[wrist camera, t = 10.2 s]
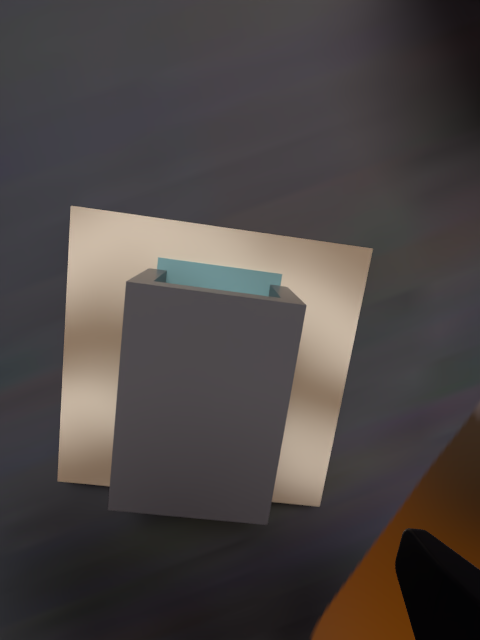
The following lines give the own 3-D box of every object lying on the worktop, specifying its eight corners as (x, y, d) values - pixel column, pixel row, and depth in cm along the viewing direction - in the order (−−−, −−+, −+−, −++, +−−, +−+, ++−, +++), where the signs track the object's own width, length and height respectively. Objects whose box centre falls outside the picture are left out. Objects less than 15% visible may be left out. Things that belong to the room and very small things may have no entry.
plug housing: (258, 462, 19) (267, 524, 15) (132, 449, 18) (107, 510, 14) (287, 286, 17) (306, 305, 13) (148, 268, 16) (126, 281, 13)
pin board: (312, 486, 21) (333, 547, 17) (69, 462, 20) (32, 520, 16) (360, 246, 18) (398, 252, 14) (83, 207, 17) (43, 202, 13)
